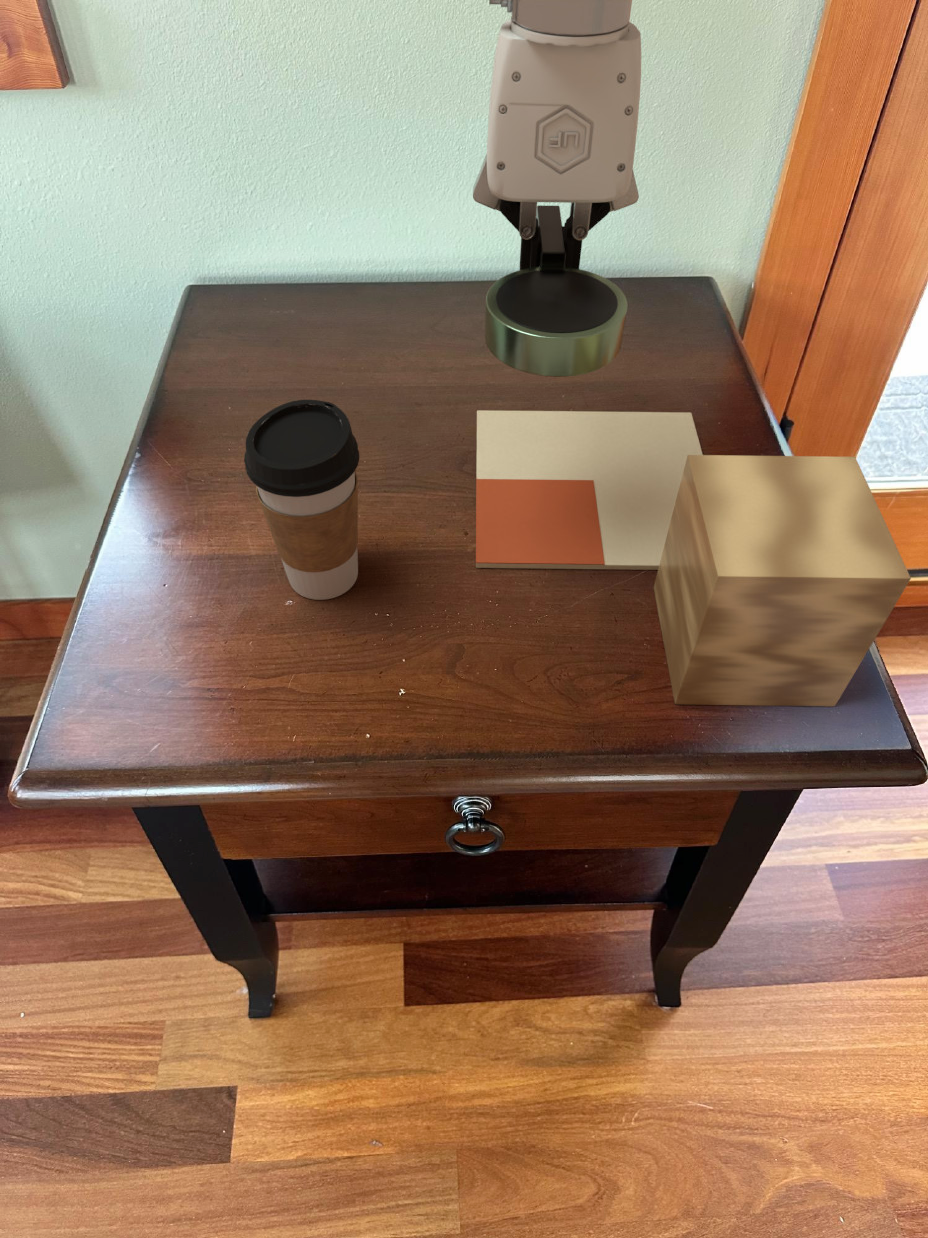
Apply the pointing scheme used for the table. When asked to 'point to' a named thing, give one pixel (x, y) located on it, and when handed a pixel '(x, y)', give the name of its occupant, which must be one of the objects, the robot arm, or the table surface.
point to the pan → (554, 312)
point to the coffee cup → (308, 493)
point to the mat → (578, 487)
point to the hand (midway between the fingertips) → (547, 280)
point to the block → (773, 579)
